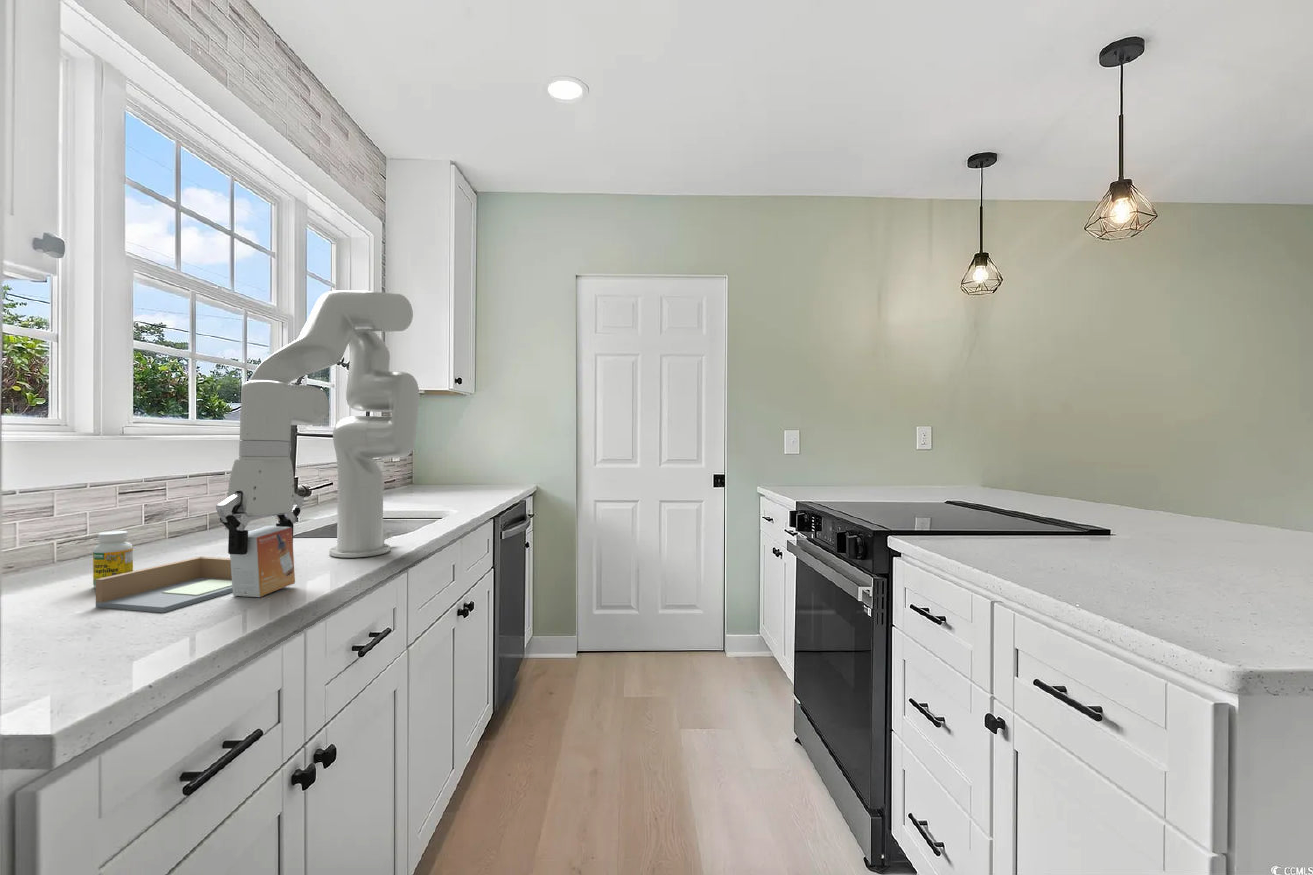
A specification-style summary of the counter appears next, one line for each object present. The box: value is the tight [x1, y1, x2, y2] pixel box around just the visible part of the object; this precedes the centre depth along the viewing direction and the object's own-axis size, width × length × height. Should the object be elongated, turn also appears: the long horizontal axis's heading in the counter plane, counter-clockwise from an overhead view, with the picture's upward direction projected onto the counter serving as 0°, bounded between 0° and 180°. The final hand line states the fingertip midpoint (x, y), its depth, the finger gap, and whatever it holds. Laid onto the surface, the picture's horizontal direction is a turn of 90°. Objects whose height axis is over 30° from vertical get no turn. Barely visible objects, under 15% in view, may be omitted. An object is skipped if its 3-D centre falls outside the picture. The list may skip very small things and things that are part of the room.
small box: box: [229, 525, 296, 598], centre depth 106 cm, size 8×6×10 cm
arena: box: [95, 556, 233, 613], centre depth 104 cm, size 18×13×4 cm
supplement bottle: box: [92, 530, 134, 589], centre depth 109 cm, size 5×5×10 cm
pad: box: [162, 579, 232, 596], centre depth 105 cm, size 9×7×1 cm
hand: (261, 549), depth 105 cm, fingers open, 9 cm apart
